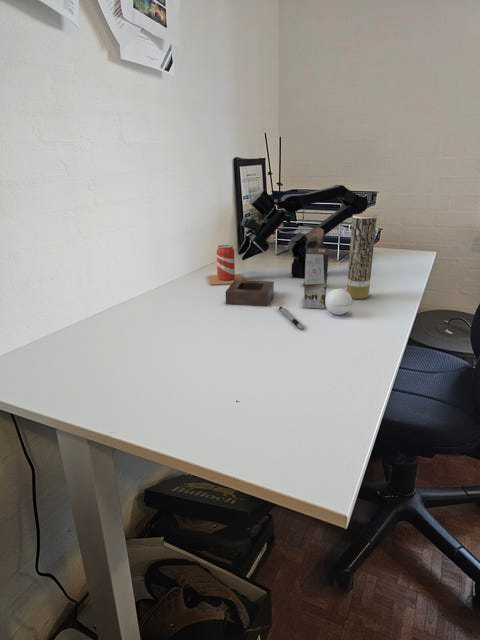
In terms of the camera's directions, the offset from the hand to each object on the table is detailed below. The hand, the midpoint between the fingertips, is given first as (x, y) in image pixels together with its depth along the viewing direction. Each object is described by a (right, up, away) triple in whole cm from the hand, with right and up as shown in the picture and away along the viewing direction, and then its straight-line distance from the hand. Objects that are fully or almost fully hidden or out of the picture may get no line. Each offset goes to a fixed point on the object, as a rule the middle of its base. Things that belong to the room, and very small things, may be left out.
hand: (240, 256), depth 145 cm
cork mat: (-5, -8, +2) cm, 10 cm away
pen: (+14, -23, -36) cm, 45 cm away
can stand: (+3, -16, -18) cm, 25 cm away
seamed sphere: (+29, -22, -33) cm, 49 cm away
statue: (+25, -12, -8) cm, 29 cm away
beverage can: (-5, -8, +2) cm, 10 cm away
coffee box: (+22, -18, -24) cm, 38 cm away
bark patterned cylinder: (+37, -16, -19) cm, 44 cm away
